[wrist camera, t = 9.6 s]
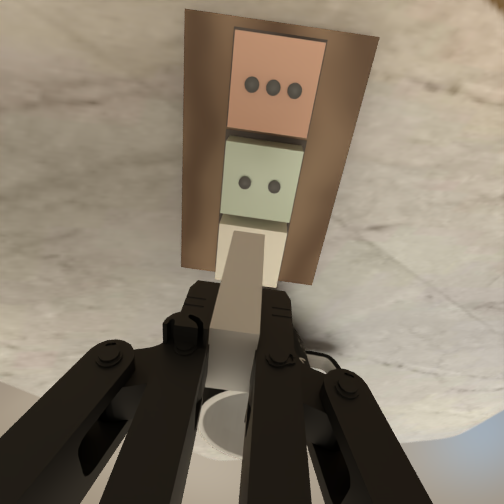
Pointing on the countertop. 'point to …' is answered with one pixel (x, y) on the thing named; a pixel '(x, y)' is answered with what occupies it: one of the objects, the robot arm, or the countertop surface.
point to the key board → (266, 135)
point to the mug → (242, 407)
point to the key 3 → (273, 83)
